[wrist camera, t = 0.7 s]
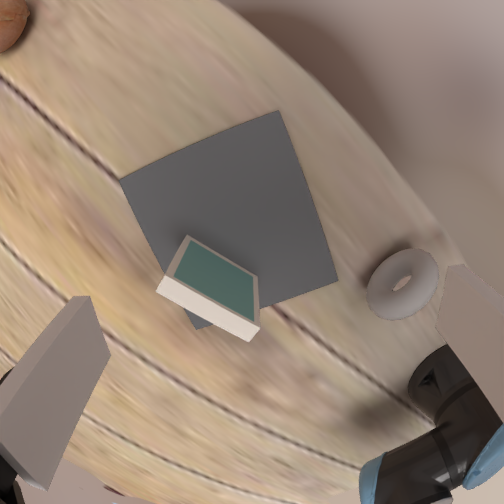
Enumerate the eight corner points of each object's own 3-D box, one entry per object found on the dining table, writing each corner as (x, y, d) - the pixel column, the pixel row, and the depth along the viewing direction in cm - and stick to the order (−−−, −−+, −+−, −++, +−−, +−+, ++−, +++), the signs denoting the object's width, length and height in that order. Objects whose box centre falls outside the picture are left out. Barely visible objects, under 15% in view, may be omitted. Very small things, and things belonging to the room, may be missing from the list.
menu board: (248, 288, 40) (248, 342, 30) (179, 247, 38) (155, 291, 28) (257, 276, 40) (260, 328, 30) (187, 234, 38) (165, 274, 28)
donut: (365, 297, 42) (391, 341, 33) (351, 282, 41) (376, 324, 32) (419, 250, 39) (458, 283, 30) (407, 232, 39) (446, 263, 29)
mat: (337, 278, 41) (338, 280, 40) (196, 327, 43) (196, 329, 43) (278, 110, 33) (278, 110, 33) (120, 179, 36) (118, 180, 35)
